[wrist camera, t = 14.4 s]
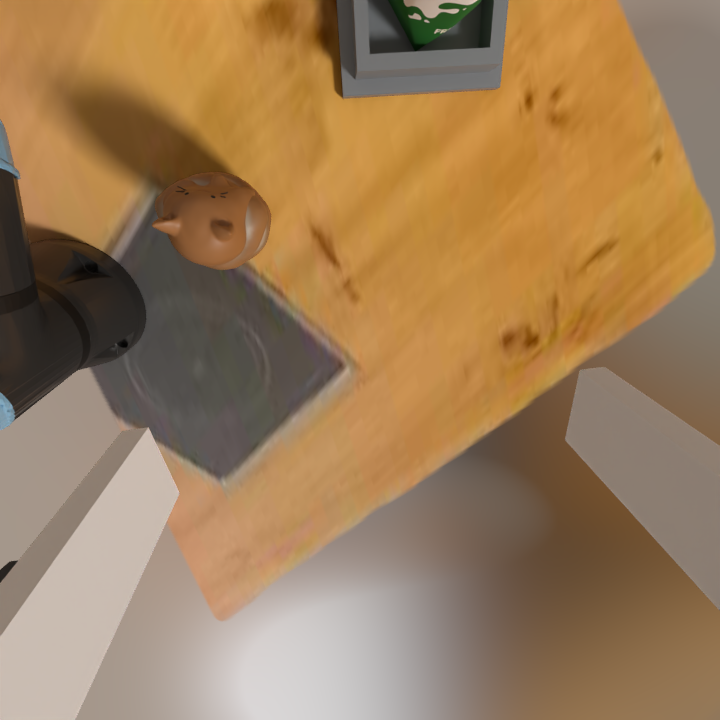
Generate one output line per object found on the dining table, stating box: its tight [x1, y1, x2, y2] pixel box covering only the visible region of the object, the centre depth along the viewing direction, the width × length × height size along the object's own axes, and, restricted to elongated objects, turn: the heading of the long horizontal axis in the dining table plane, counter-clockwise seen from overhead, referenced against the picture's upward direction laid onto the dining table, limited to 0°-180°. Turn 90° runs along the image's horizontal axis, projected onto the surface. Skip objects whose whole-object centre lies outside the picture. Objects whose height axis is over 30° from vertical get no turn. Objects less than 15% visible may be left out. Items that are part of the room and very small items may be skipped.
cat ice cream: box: [152, 172, 271, 270], centre depth 33 cm, size 9×8×18 cm
